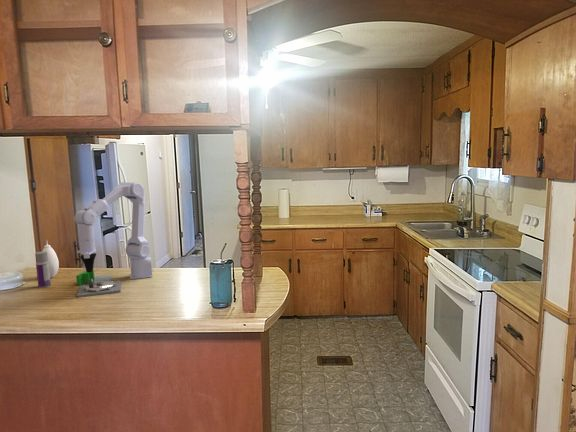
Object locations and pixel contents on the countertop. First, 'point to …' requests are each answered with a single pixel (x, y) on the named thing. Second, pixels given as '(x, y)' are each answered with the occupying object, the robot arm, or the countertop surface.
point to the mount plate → (114, 289)
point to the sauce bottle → (52, 260)
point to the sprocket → (99, 285)
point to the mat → (102, 278)
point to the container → (42, 269)
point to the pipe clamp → (84, 277)
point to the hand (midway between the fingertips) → (89, 271)
